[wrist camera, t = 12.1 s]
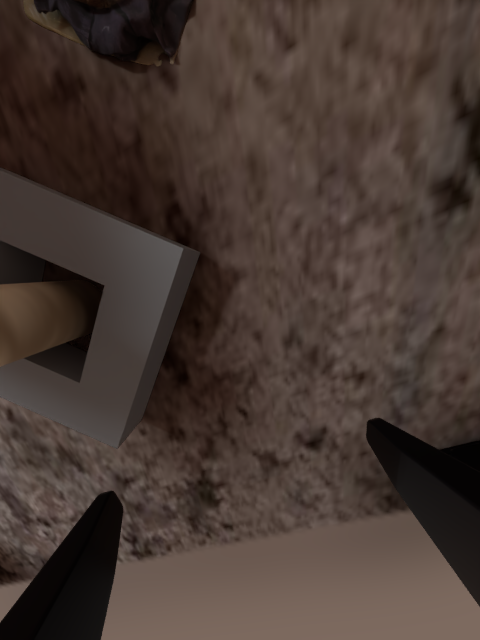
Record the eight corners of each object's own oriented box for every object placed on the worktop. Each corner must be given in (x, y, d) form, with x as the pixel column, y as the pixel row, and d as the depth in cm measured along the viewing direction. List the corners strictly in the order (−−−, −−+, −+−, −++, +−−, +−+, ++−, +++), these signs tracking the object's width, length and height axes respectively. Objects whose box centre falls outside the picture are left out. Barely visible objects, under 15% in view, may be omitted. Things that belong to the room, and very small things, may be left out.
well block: (200, 252, 17) (183, 248, 13) (142, 419, 21) (117, 448, 17) (9, 170, 17) (-56, 146, 14) (-14, 350, 21) (-69, 366, 17)
